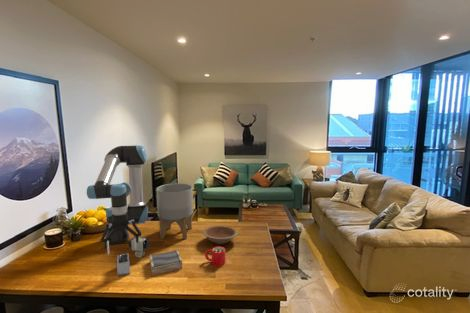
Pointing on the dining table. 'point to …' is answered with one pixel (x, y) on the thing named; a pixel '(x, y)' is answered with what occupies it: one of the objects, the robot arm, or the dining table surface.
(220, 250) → the mug
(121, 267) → the housing
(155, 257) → the stand
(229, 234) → the bowl
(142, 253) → the pneumatic valve
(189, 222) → the planter
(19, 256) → the dining table surface
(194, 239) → the dining table surface
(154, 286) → the dining table surface
